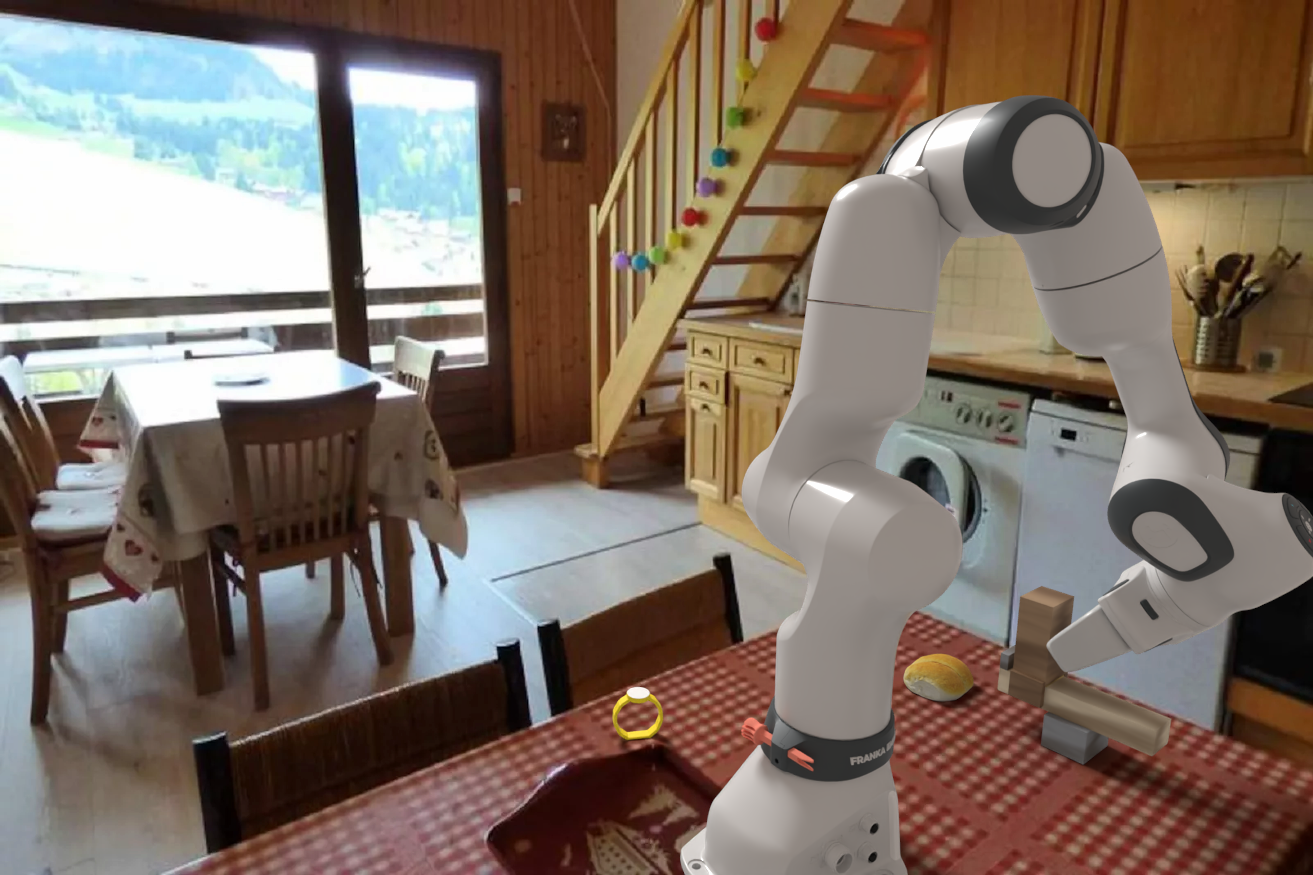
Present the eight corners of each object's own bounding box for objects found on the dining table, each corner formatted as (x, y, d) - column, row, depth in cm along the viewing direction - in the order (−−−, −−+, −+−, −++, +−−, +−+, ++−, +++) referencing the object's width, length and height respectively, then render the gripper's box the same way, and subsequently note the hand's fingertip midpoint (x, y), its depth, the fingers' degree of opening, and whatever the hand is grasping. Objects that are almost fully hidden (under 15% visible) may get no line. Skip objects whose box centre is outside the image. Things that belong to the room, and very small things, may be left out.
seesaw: (1143, 792, 93) (1154, 717, 91) (990, 721, 106) (996, 655, 104) (1166, 771, 96) (1177, 699, 94) (1016, 705, 110) (1022, 641, 108)
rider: (1039, 708, 101) (1050, 608, 98) (1007, 694, 104) (1017, 597, 101) (1065, 691, 104) (1076, 595, 102) (1034, 678, 107) (1044, 584, 105)
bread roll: (980, 684, 116) (983, 657, 115) (951, 710, 109) (954, 681, 108) (923, 664, 121) (925, 638, 120) (892, 687, 115) (894, 660, 114)
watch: (659, 729, 105) (662, 685, 104) (662, 742, 103) (666, 697, 102) (610, 731, 104) (613, 687, 103) (613, 744, 102) (616, 698, 100)
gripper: (1184, 552, 98) (1088, 603, 108) (1100, 597, 86) (1001, 651, 96) (1222, 600, 96) (1121, 649, 106) (1142, 654, 83) (1036, 704, 93)
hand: (1063, 650), depth 100 cm, fingers closed, pressing on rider
